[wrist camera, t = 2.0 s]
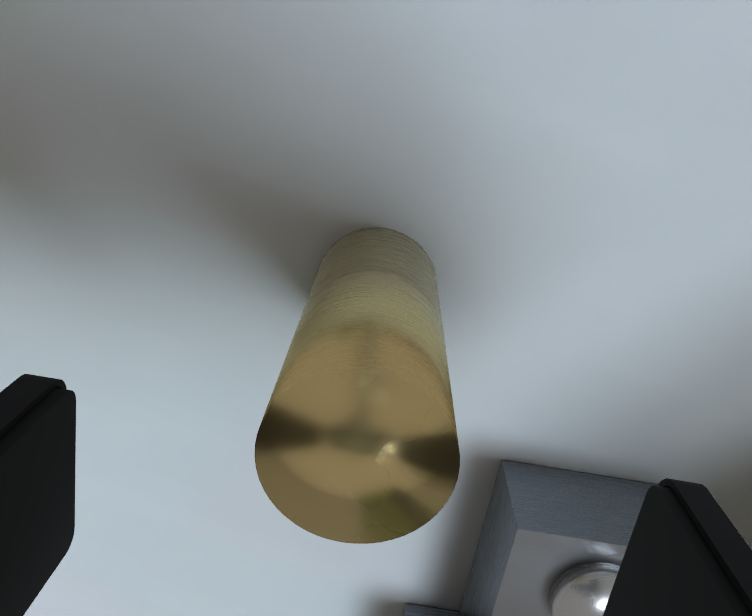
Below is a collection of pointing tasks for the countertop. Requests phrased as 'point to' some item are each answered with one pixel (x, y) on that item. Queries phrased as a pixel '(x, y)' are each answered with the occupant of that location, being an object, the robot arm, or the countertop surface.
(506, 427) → the countertop surface
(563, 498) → the grey metal bracket
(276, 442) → the brass pin
